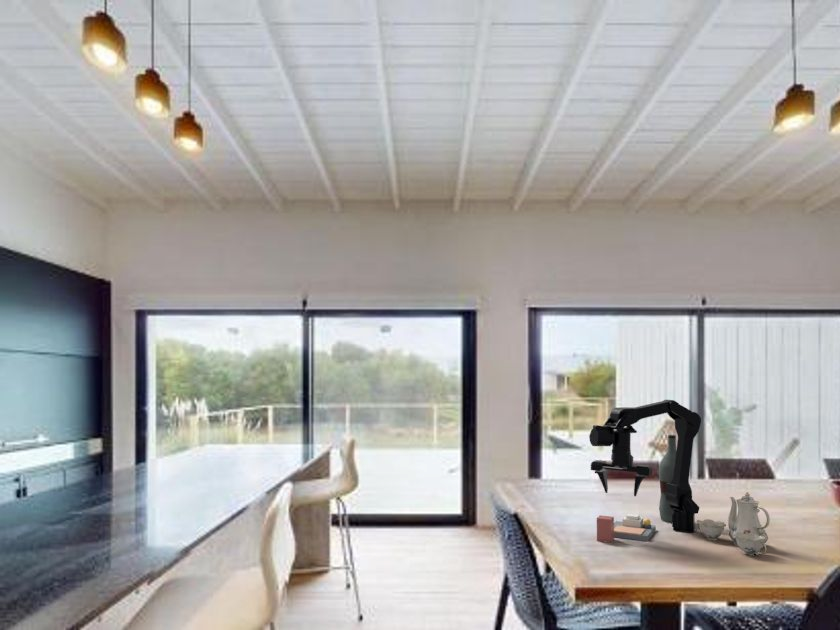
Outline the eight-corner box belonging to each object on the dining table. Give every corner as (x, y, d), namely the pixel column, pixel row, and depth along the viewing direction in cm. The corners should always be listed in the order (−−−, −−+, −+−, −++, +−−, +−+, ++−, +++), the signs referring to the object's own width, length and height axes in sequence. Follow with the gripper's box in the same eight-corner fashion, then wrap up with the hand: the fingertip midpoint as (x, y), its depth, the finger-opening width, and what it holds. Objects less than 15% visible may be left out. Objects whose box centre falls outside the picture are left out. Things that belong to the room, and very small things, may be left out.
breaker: (639, 523, 231) (639, 514, 231) (637, 526, 227) (637, 516, 228) (628, 522, 232) (628, 513, 232) (626, 524, 229) (626, 515, 229)
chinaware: (687, 541, 223) (682, 490, 223) (728, 532, 228) (723, 482, 229) (755, 566, 196) (749, 507, 197) (800, 555, 202) (794, 498, 202)
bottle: (660, 522, 242) (659, 436, 244) (658, 516, 250) (656, 433, 252) (689, 524, 239) (687, 437, 241) (685, 518, 248) (684, 434, 250)
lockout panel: (655, 530, 231) (655, 516, 231) (647, 541, 216) (647, 526, 217) (616, 525, 237) (615, 512, 237) (605, 535, 222) (605, 522, 223)
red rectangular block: (614, 539, 218) (613, 516, 219) (611, 542, 215) (610, 519, 215) (600, 537, 220) (599, 515, 221) (596, 540, 217) (596, 518, 217)
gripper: (655, 446, 230) (654, 494, 228) (599, 442, 238) (598, 487, 237) (649, 449, 220) (648, 499, 219) (590, 444, 229) (589, 492, 228)
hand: (620, 494), depth 226 cm, fingers open, 9 cm apart
